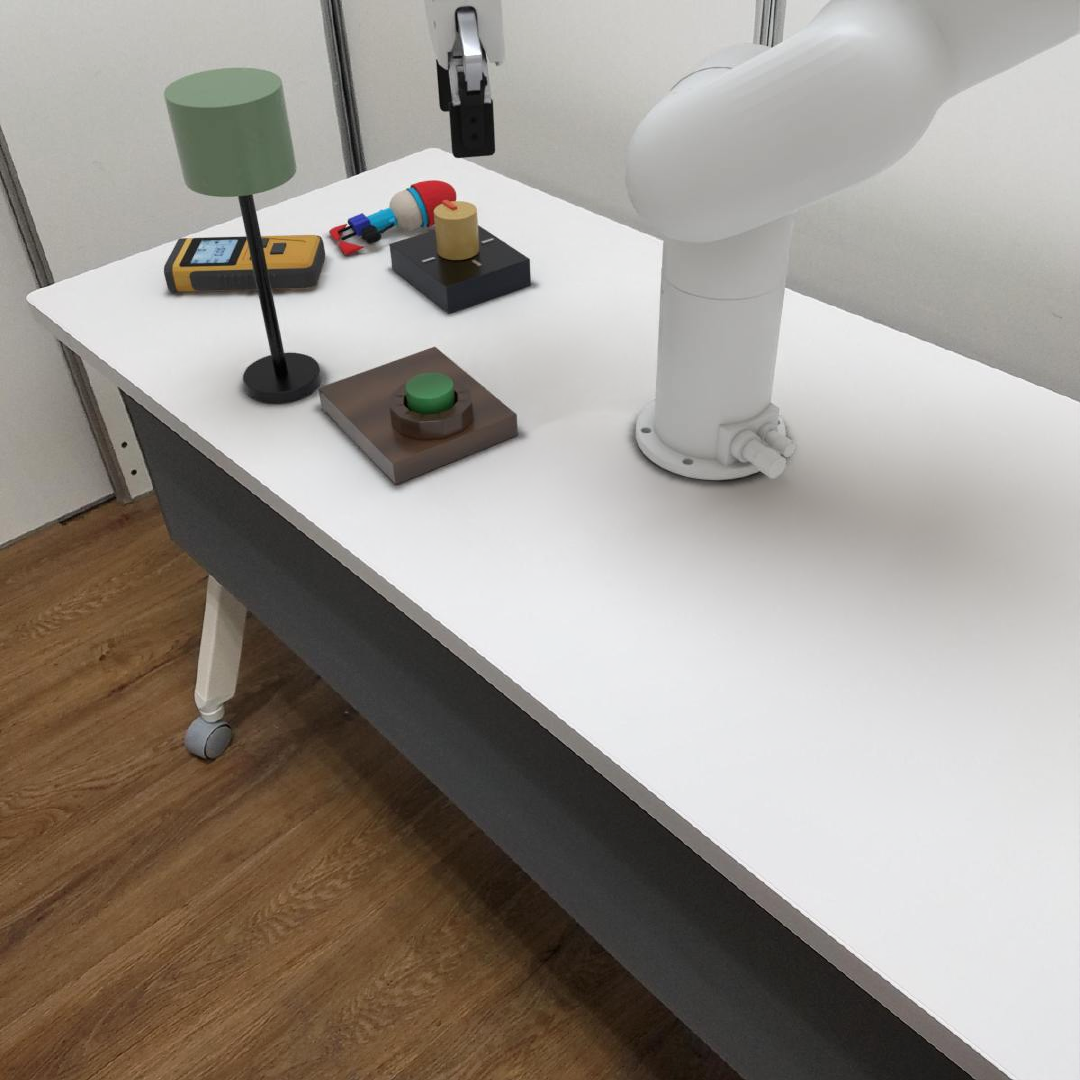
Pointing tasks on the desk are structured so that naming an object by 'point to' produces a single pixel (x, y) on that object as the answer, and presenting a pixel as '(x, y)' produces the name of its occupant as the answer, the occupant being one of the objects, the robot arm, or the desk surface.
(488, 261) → the dimmer panel
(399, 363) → the button base
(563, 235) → the desk surface
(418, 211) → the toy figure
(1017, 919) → the desk surface
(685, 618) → the desk surface
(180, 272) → the electronic device
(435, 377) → the switch
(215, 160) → the lamp
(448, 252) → the knob
